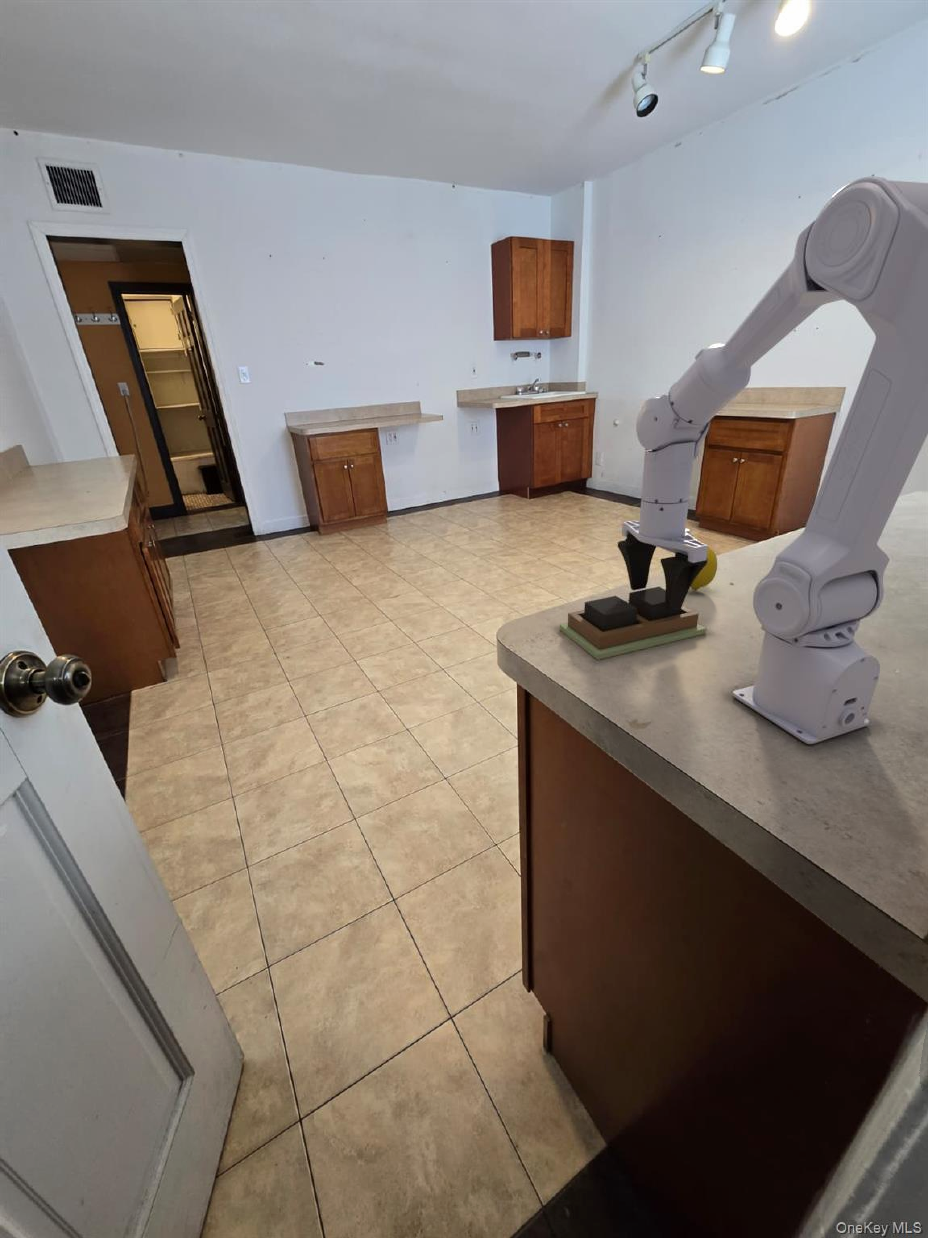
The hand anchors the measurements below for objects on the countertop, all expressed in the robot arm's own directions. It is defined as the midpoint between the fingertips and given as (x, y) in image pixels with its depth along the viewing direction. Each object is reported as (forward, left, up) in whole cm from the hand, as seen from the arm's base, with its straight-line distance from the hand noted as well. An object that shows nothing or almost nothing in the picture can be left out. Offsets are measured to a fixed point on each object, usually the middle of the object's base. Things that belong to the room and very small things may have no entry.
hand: (655, 597), depth 71 cm
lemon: (+8, -14, -5) cm, 17 cm away
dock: (0, +4, -5) cm, 6 cm away
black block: (0, 0, -4) cm, 4 cm away
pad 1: (0, +7, -4) cm, 8 cm away
